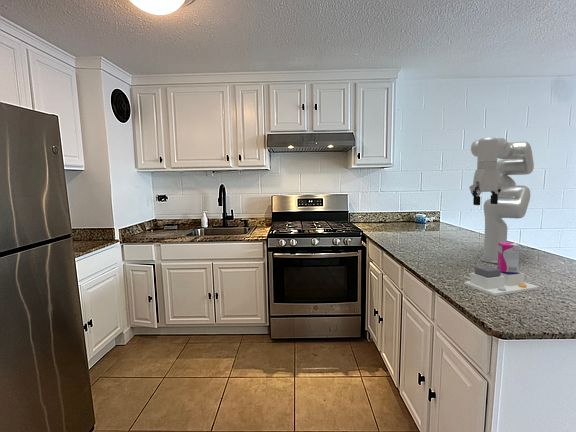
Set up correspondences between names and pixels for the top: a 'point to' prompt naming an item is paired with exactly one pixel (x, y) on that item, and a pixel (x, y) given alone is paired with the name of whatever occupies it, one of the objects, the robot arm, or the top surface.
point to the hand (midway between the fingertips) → (485, 204)
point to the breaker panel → (500, 284)
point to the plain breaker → (487, 271)
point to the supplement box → (508, 257)
